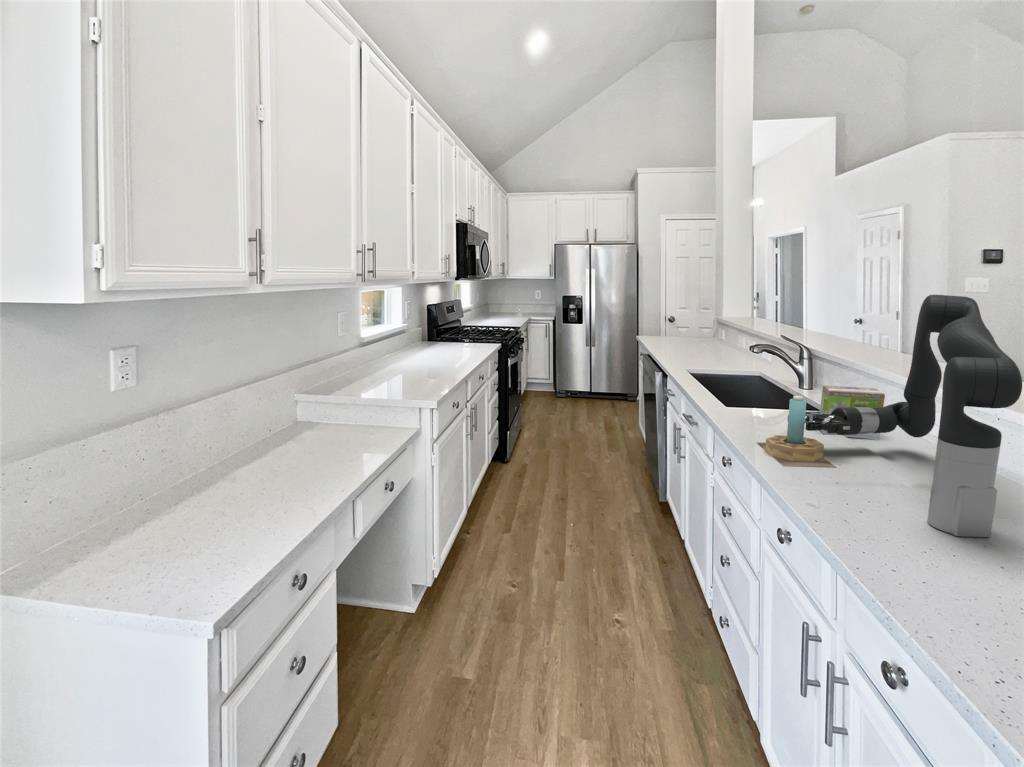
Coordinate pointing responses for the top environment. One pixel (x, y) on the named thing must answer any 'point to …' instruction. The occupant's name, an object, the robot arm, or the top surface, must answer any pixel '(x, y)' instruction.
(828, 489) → the top surface
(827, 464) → the board
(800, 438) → the teal bottle
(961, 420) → the robot arm
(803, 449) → the tan octagonal ring
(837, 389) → the tea box
